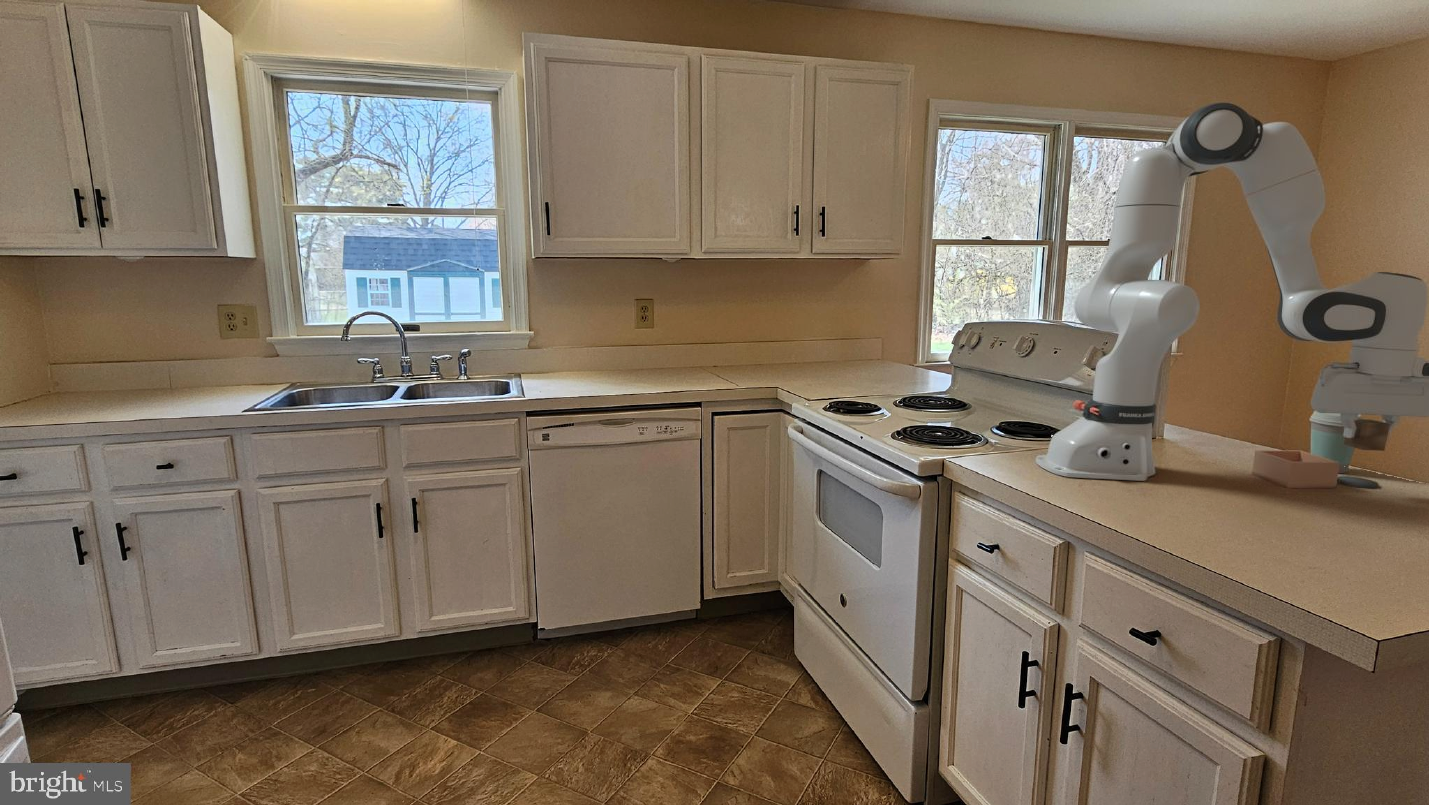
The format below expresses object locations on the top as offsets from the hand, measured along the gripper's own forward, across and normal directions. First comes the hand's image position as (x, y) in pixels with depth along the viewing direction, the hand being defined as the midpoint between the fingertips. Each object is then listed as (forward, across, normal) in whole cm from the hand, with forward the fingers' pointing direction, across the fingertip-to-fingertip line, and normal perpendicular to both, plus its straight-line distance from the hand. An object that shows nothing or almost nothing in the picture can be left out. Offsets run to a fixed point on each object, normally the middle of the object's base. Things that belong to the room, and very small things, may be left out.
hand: (1365, 438), depth 132 cm
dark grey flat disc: (+10, +5, +6) cm, 13 cm away
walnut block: (+2, 0, 0) cm, 2 cm away
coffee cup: (+10, +8, +16) cm, 20 cm away
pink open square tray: (+11, -6, +7) cm, 14 cm away
